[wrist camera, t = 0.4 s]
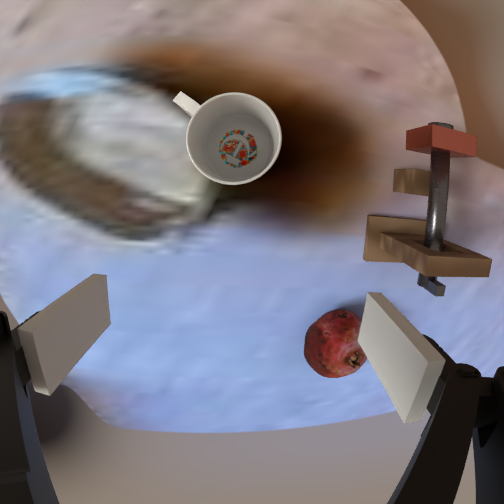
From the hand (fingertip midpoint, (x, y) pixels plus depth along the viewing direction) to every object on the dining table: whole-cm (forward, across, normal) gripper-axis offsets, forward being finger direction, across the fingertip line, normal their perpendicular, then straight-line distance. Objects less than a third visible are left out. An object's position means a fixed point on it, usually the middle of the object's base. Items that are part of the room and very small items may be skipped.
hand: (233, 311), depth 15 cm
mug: (+27, -3, +11) cm, 29 cm away
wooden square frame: (+27, +22, 0) cm, 35 cm away
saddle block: (+27, +22, +8) cm, 35 cm away
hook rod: (+22, +22, +5) cm, 31 cm away
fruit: (+27, +13, -14) cm, 33 cm away
